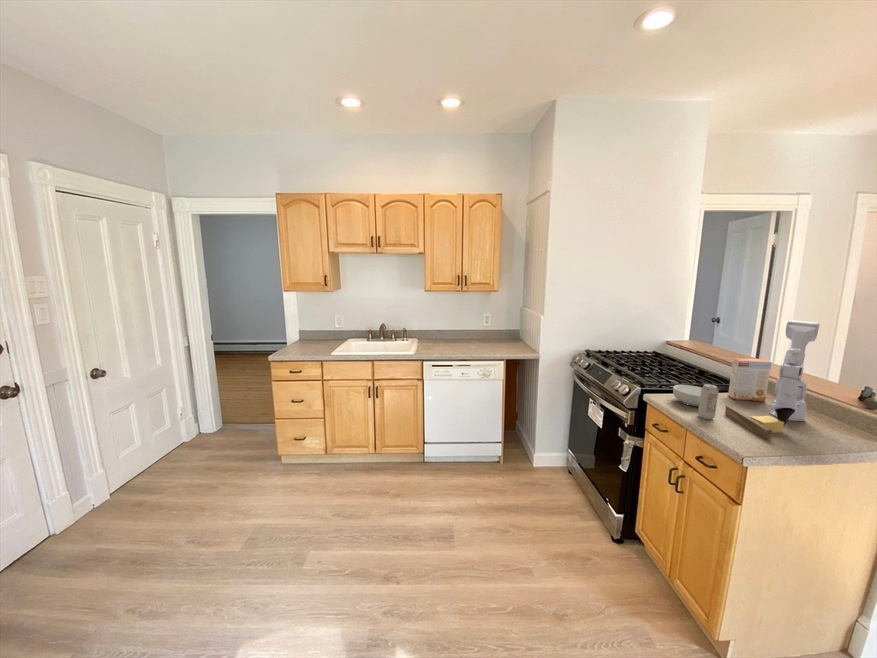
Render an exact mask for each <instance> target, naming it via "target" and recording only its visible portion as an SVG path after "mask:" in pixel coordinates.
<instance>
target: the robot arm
mask: <svg viewBox="0 0 877 658" xmlns="http://www.w3.org/2000/svg"><path fill="white" fill-rule="evenodd" d="M819 330H820V323H819V322H814V321H812V322H811V321H802V320H801V321H800V320H791V319H789V320H787V321H786V326H785V336H786V339H789V340H791V346H790V349H788V350H786V352H785V354H784V355H785V356H784V358H783V363H782V364H781V365H780V368H779V371H778V378H777V380H776V383H775V387H774V392H773V393H774V395H775V396H776V397H775V399H773V400H772V401H773V402H771V403H768V406H767V409H770V410H772V411H769V412H768V413H769V414H770V415H772V416H774V417H775V418H777V419H778V420H781V421H783V422H784V426H786V424H787V422H788V421H793V422H794V421H795V422H796V421H797V422H798V421H799V422H807V420H806V413H807V410H808V409H807V408H808V405H807V402H806V400H805V399H806V398H805V397H806V394H807V389H808V387H807V386H808V384H807V382H805V381H804V379H802V378H803V374H804V363H805V358H806V353H805V352H806V347H807V345H808V344H809V343H810V342H815V341H816V340H817V337H818V334H819Z"/></svg>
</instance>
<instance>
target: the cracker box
mask: <svg viewBox="0 0 877 658" xmlns="http://www.w3.org/2000/svg"><path fill="white" fill-rule="evenodd" d="M771 367H772V361H769V360H767V359H763V358H745V357H743V358H740V357H739V358H738V357H733V358H732V365H731V372H730V379H729V387H728V393H727V396H728V397H729V396H730V397H729V398H730V399H732V398H733V399H732V400H734V399H736V400H737V401H749V400H753V402H764V401H765V402H766V398H767V393H768V387H769V386H768V385H769V380H770V375H771Z"/></svg>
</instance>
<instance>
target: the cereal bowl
mask: <svg viewBox="0 0 877 658" xmlns="http://www.w3.org/2000/svg"><path fill="white" fill-rule="evenodd" d="M701 389H702V387H701V386H695V385H690V384H689V385H688V384H675V385H674V386H673V388H672V391H673V392H672V393H673V396H674V397H675V398H676V399H677V400H679V401H680V402H681V403H683V404H684V405H686V404H688V405H687V406H690V405H692V406H691V407H699V403H700V396H701Z"/></svg>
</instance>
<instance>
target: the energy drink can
mask: <svg viewBox="0 0 877 658" xmlns="http://www.w3.org/2000/svg"><path fill="white" fill-rule="evenodd" d="M701 388H702V389H701V396H700V403H699V406H698V409H697V410H698V411H697V415H698V417H699V416H700V417H701V419H703V418H704V419H703V420H706V419H712V420H713V419H714V418H715V417H716V416H715V415H716V409H717V402H718V395H719V389H718V386H717V385H714V384H709V383H705V384H703V386H702V387H701ZM700 417H699V418H700Z"/></svg>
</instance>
